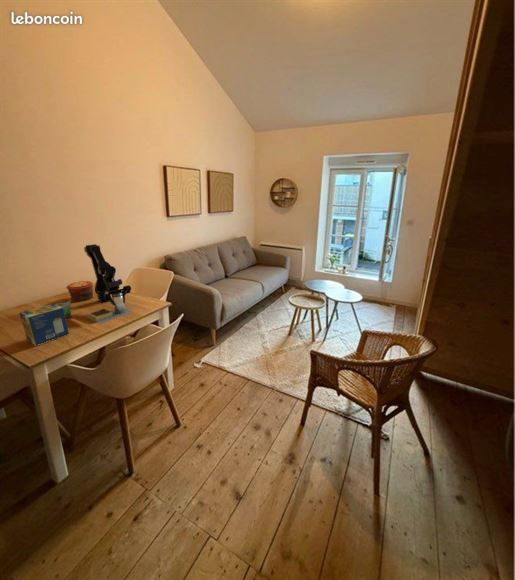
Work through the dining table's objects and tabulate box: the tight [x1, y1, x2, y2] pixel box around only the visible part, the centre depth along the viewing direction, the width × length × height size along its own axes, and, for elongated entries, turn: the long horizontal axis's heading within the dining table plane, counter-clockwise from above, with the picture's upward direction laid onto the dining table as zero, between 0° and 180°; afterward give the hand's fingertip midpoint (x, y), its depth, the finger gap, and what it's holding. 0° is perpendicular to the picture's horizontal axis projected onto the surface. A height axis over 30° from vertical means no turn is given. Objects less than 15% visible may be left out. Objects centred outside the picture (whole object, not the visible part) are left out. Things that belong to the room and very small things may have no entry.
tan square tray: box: [87, 308, 113, 323], centre depth 167 cm, size 10×10×3 cm
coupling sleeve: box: [111, 292, 126, 314], centre depth 173 cm, size 6×6×12 cm
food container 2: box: [65, 280, 94, 302], centre depth 201 cm, size 16×16×11 cm
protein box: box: [18, 303, 70, 346], centre depth 144 cm, size 10×15×16 cm
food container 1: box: [54, 300, 72, 320], centre depth 167 cm, size 12×6×10 cm, turn 143°
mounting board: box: [86, 308, 134, 325], centre depth 171 cm, size 14×21×1 cm, turn 146°
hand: (119, 304), depth 172 cm, fingers closed on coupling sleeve, 6 cm apart
